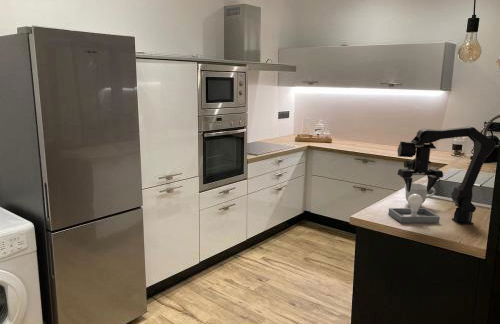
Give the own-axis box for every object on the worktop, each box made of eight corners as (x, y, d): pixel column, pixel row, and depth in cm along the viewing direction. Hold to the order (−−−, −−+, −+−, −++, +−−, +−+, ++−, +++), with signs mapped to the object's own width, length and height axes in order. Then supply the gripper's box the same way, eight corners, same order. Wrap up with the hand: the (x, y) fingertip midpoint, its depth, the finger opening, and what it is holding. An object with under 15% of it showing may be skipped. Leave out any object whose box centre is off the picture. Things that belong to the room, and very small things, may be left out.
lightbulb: (403, 217, 178) (405, 194, 176) (409, 213, 182) (411, 191, 180) (417, 220, 174) (419, 197, 171) (423, 217, 178) (425, 194, 176)
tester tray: (424, 214, 185) (425, 208, 185) (439, 223, 174) (439, 216, 173) (388, 214, 183) (388, 208, 182) (400, 223, 171) (401, 217, 171)
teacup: (436, 210, 191) (438, 190, 189) (404, 207, 194) (406, 188, 192) (430, 203, 203) (432, 184, 201) (400, 200, 206) (402, 182, 204)
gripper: (431, 154, 181) (427, 186, 185) (393, 154, 179) (390, 187, 182) (446, 159, 171) (441, 193, 174) (405, 159, 168) (401, 193, 171)
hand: (418, 191), depth 176 cm, fingers open, 9 cm apart
